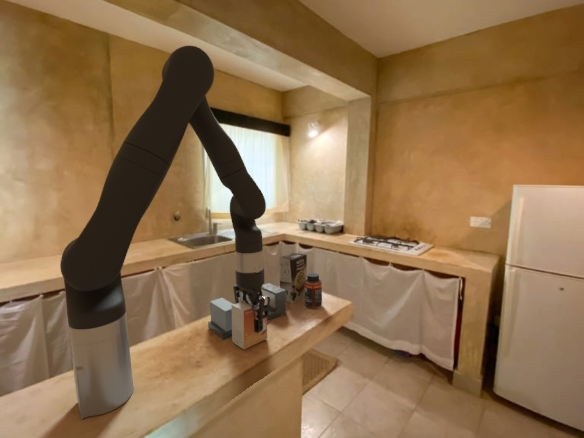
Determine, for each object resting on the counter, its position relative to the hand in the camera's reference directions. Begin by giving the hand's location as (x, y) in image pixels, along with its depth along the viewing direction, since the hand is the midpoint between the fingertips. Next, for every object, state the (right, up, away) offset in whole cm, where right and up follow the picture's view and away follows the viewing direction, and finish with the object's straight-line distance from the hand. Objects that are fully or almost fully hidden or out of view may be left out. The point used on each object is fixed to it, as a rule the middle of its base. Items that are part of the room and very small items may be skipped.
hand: (251, 326), depth 76 cm
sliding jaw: (-9, -1, +6) cm, 11 cm away
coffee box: (+12, 0, +29) cm, 31 cm away
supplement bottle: (+18, -1, +22) cm, 28 cm away
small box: (0, -4, 0) cm, 4 cm away
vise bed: (-3, -3, +11) cm, 12 cm away
